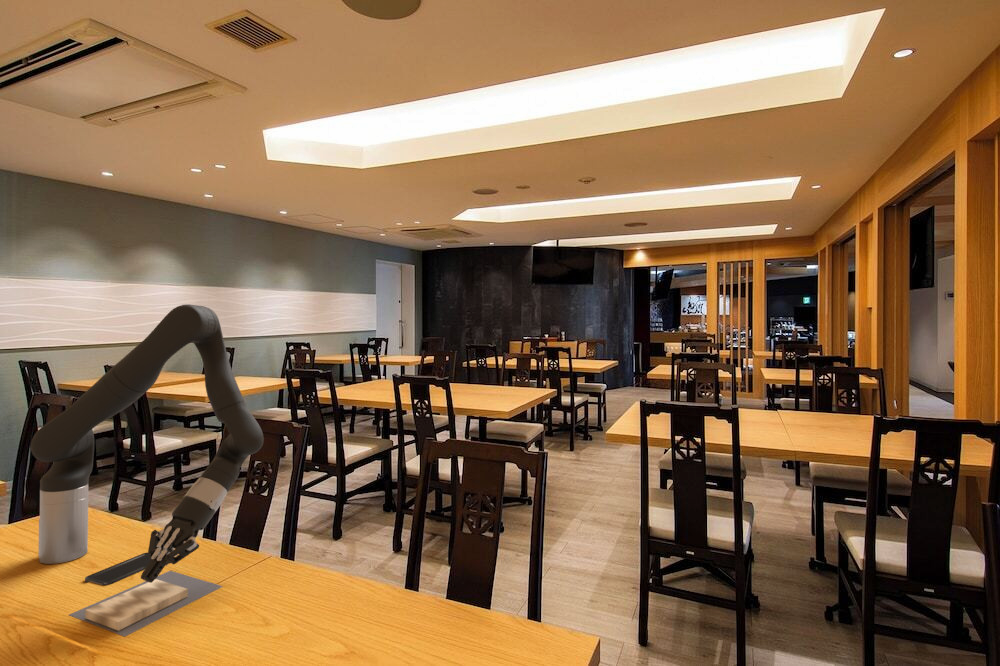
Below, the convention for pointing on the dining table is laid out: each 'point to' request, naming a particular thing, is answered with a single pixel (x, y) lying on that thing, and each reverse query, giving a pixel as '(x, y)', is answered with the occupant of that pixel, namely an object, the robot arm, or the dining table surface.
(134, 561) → the phone
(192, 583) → the mat
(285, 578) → the dining table surface
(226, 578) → the dining table surface
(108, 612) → the placard
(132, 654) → the dining table surface
